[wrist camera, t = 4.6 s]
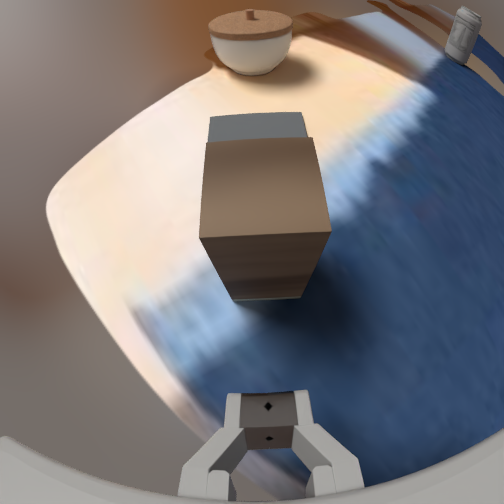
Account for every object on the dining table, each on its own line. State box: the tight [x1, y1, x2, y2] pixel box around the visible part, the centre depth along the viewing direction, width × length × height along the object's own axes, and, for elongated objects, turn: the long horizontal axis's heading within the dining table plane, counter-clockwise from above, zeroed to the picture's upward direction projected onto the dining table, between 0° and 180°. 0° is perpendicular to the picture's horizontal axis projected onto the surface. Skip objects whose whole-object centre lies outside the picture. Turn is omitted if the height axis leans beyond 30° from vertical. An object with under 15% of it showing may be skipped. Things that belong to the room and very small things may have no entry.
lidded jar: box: [208, 9, 293, 76], centre depth 29 cm, size 11×11×9 cm
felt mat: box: [208, 112, 307, 142], centre depth 25 cm, size 14×10×1 cm
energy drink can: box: [445, 6, 482, 65], centre depth 31 cm, size 6×6×15 cm
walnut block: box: [199, 137, 332, 301], centre depth 16 cm, size 5×5×11 cm
